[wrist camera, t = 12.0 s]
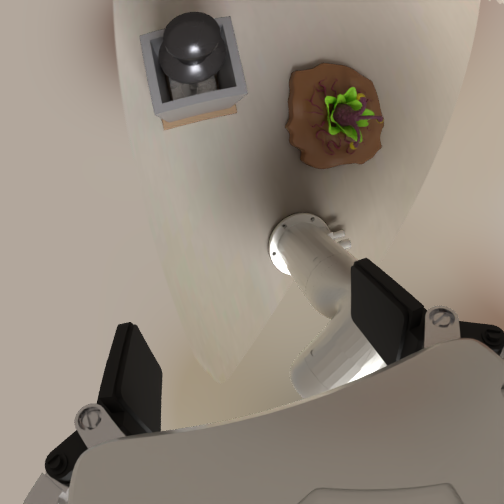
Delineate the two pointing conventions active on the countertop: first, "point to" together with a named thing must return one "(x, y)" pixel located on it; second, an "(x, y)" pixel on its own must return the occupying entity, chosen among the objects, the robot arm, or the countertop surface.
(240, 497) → the robot arm
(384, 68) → the countertop surface
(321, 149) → the plant
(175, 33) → the plunger
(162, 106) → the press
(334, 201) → the countertop surface
